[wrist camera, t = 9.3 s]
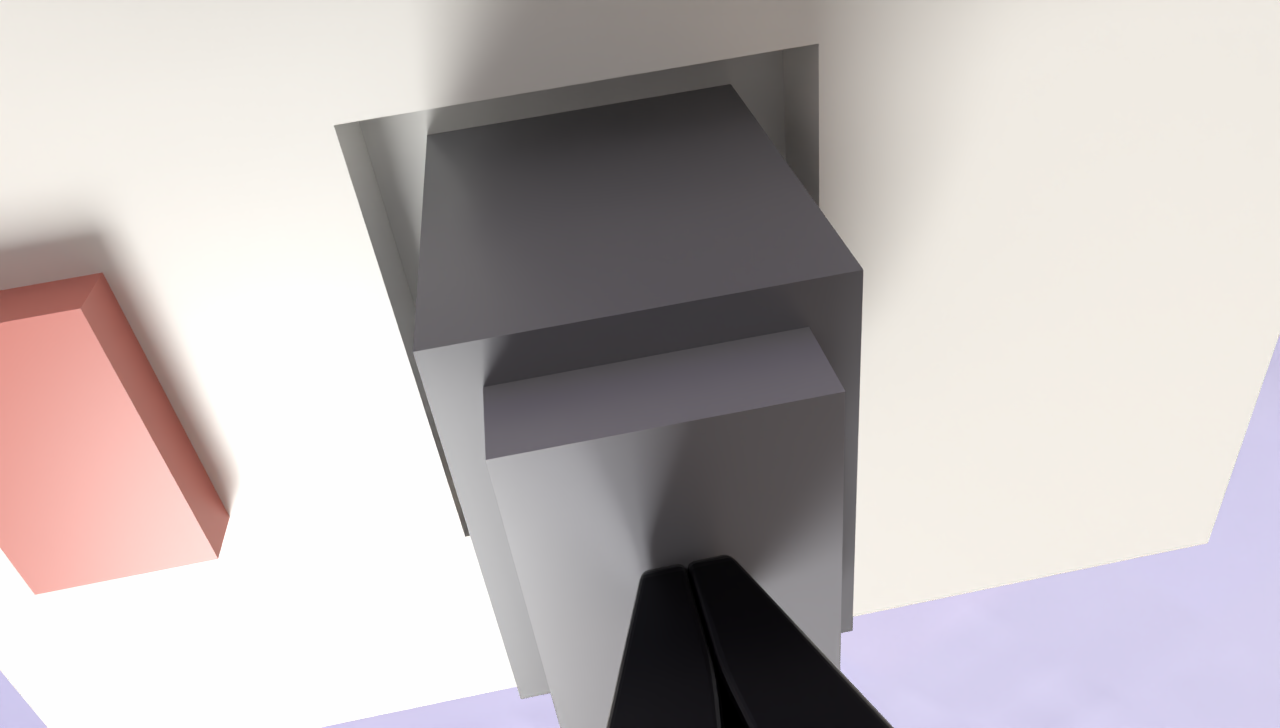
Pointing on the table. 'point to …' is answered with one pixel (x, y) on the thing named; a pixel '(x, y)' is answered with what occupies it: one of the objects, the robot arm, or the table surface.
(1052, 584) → the table surface
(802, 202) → the plug
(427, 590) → the socket plate
